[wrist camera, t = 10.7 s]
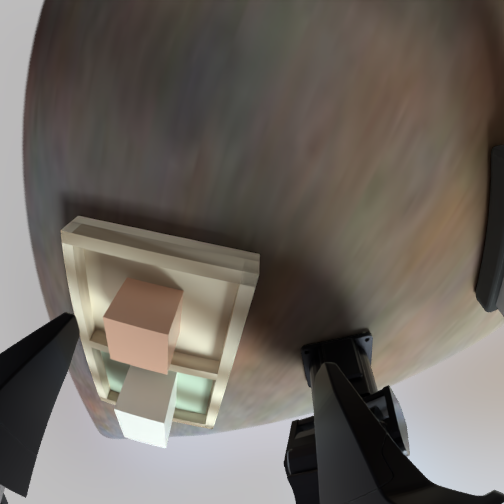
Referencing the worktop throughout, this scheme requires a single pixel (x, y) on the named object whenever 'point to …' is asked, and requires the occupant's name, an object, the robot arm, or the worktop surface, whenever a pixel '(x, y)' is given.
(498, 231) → the container
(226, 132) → the worktop surface
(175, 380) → the block
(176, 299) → the terracotta block
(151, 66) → the worktop surface
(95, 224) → the slot cradle
